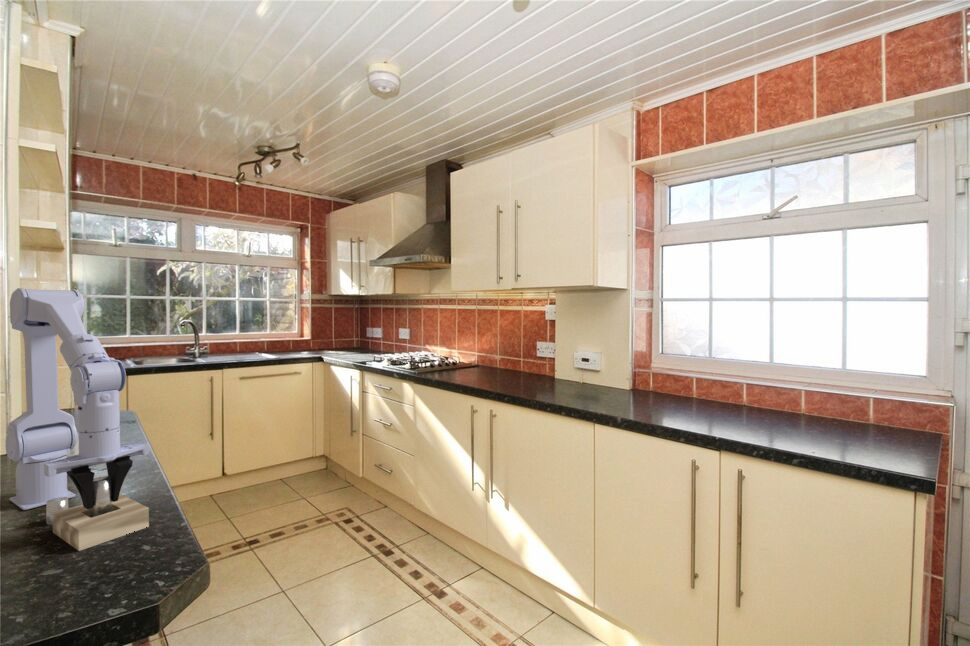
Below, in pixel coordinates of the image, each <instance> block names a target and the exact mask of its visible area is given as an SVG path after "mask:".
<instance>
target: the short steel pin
mask: <svg viewBox="0 0 970 646" xmlns="http://www.w3.org/2000/svg"><path fill="white" fill-rule="evenodd" d="M68 508H69V498H68V497H59V498H54V499H51V500H48V501H47V502H46V515H45V516H46V520H45V522H46V525H48V526H53V516H52V513H54V512H58V511H61V510H65V509H68Z"/></svg>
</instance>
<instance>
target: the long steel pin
mask: <svg viewBox="0 0 970 646" xmlns="http://www.w3.org/2000/svg"><path fill="white" fill-rule="evenodd" d="M109 512H112V487H111V476H108V475H106V476H105V475H104V476H98V477H94V480H93V508H91V509H90V518H92V517H96V516H99V515H102V514H105V513H109Z"/></svg>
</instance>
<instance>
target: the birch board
mask: <svg viewBox="0 0 970 646" xmlns="http://www.w3.org/2000/svg"><path fill="white" fill-rule="evenodd" d="M149 512H150V507H148V506H146V505H144V504H142V503H140V502H137V501H136V500H134V499H131V498H130V497H128V496H125V495H123V494H121V493H119V498H118V501H115V502H113V501H112V512H109V513H105V514H102V515H99V516H96V517H92V518H90V509H86V508H84V507H83V503H82V504H80V505H75V506H72V507H68V509H65V510H61V511H58V512H54V513H52V516H53V525H52V534H54V535H56V536H58V537H59V538H60V539H61V540H63V541H64V542H66V543H67V544H68V545H69V546H71V547H72V548H74V549H75V550H76V551H78V552H81V551H84V550H86V549H89V548H92V547H95V546H97V545H101V544H103V543H107V542H110V541H113V540H115V539H118V538H121V537H124V536H127V535H130V534H132V533H135V532H138V531H140V530H144V529H147V528H150V513H149ZM146 527H147V528H146ZM134 531H135V532H134ZM129 533H130V534H129ZM126 534H127V535H126Z"/></svg>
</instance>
